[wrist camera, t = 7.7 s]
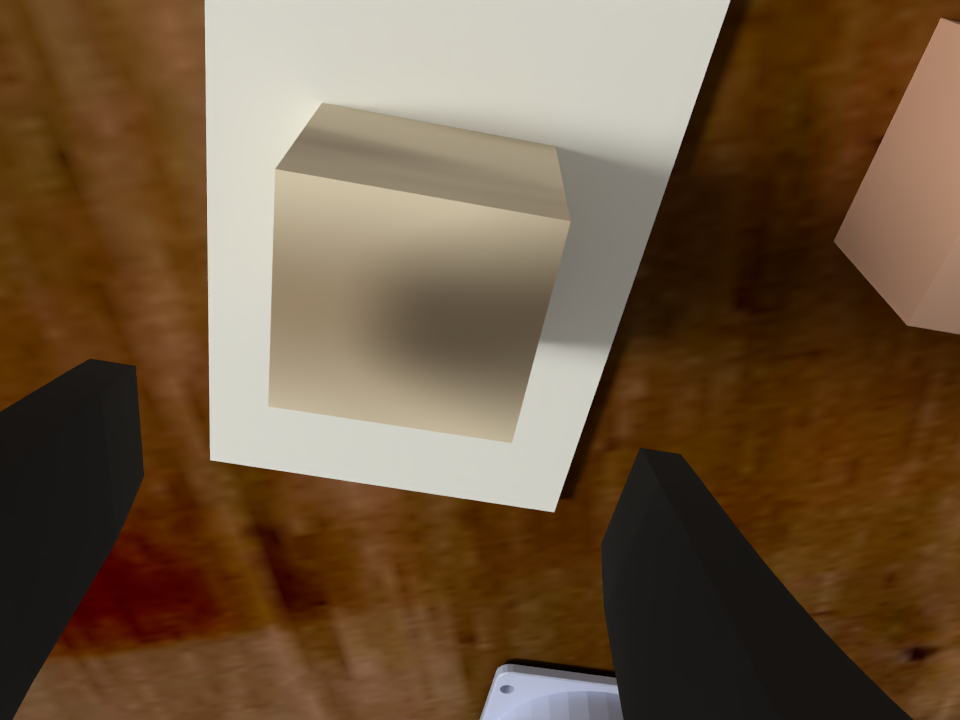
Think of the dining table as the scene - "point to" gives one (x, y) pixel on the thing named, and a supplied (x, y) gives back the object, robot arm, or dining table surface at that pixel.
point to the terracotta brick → (915, 196)
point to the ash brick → (411, 272)
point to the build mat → (466, 105)
